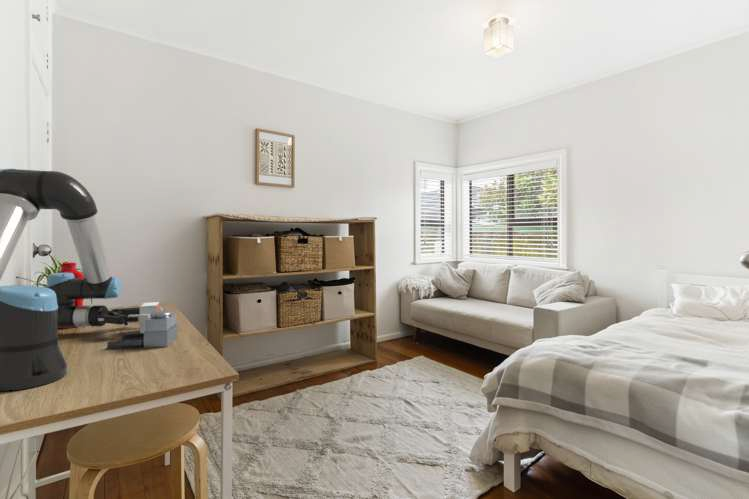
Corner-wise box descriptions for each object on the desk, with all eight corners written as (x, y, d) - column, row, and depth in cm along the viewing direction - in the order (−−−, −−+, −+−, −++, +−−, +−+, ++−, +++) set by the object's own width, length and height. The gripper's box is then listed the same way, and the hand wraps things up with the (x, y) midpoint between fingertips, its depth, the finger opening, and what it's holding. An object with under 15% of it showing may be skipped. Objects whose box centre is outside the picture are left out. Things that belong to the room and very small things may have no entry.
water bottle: (76, 321, 157) (75, 261, 156) (89, 325, 152) (88, 262, 151) (48, 326, 149) (47, 262, 148) (60, 330, 144) (59, 263, 143)
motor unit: (167, 346, 125) (167, 315, 124) (107, 349, 121) (106, 317, 121) (177, 337, 136) (177, 309, 135) (122, 339, 132) (122, 310, 132)
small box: (157, 333, 141) (156, 305, 140) (139, 335, 139) (139, 306, 138) (160, 328, 148) (160, 301, 148) (143, 329, 146) (143, 302, 146)
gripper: (108, 318, 152) (166, 317, 156) (72, 335, 127) (143, 332, 132) (108, 299, 151) (166, 298, 156) (72, 312, 127) (142, 311, 131)
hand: (155, 314), depth 144 cm, fingers open, 13 cm apart
